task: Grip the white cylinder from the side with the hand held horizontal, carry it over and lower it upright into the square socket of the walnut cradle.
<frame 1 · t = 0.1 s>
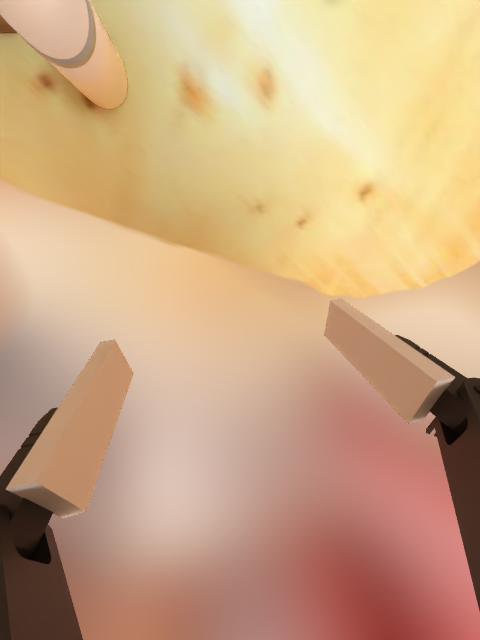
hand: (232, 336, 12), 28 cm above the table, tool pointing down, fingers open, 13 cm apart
white cylinder: (99, 73, 23), on the table
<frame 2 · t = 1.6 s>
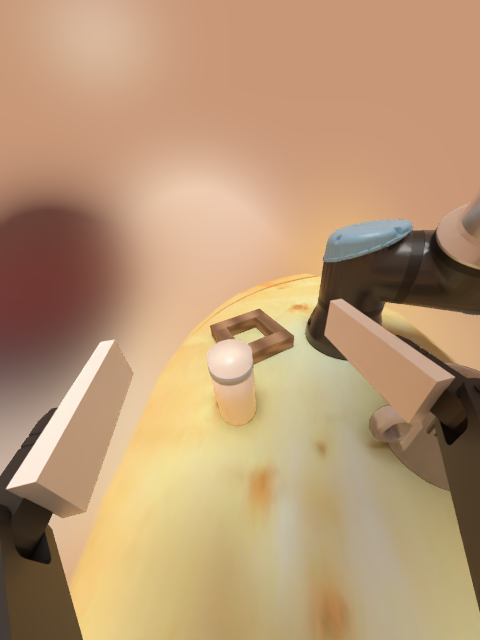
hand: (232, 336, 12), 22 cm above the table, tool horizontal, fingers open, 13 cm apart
cradle: (249, 340, 46), on the table
white cylinder: (238, 407, 32), on the table
coffee mug: (412, 442, 26), on the table
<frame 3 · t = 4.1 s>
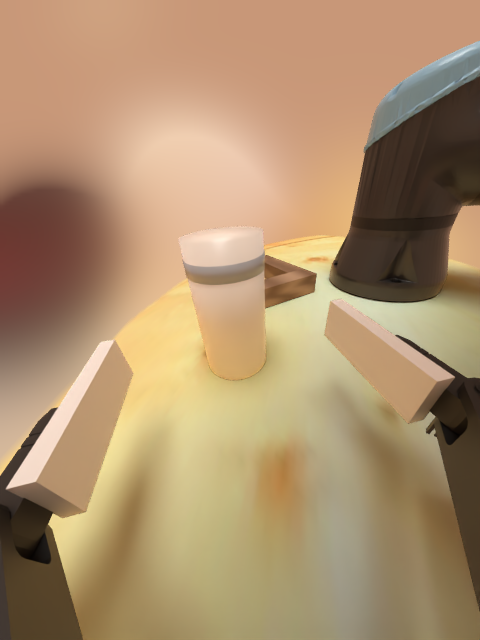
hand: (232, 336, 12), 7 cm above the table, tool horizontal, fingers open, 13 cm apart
cradle: (254, 288, 35), on the table
white cylinder: (237, 357, 21), on the table
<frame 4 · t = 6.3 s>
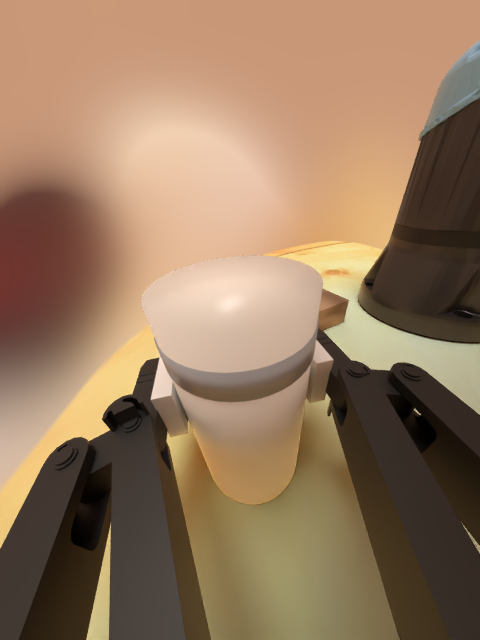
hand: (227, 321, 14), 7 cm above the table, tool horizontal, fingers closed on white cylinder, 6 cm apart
cradle: (265, 314, 28), on the table
white cylinder: (251, 446, 13), on the table, touching gripper
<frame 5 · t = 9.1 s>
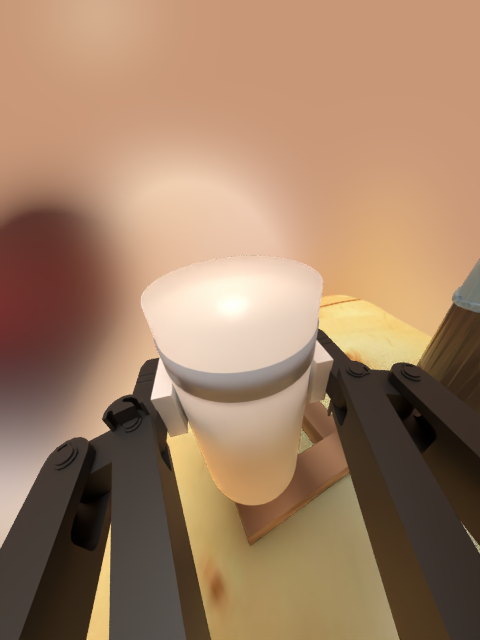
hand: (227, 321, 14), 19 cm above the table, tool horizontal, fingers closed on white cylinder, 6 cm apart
cradle: (273, 436, 25), on the table
white cylinder: (250, 446, 13), point 12 cm above the table, touching gripper
when the fingers open (9 cm above the table, at t = 12.0 s): white cylinder drops 2 cm, resting in cradle.
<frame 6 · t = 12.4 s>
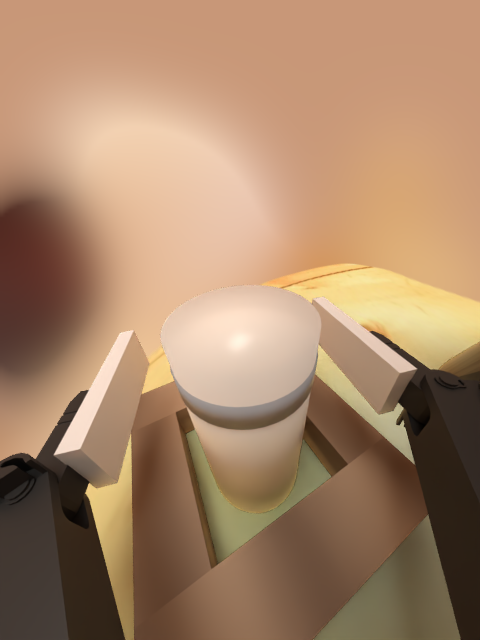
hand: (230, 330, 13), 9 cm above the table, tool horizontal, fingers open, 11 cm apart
cradle: (252, 456, 14), on the table
white cylinder: (254, 456, 14), resting in cradle
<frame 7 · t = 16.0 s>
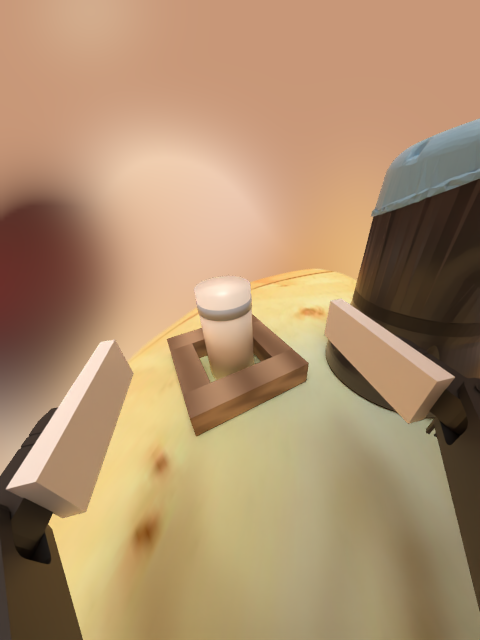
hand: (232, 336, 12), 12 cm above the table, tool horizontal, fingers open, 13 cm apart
cradle: (231, 366, 27), on the table
white cylinder: (232, 366, 27), resting in cradle
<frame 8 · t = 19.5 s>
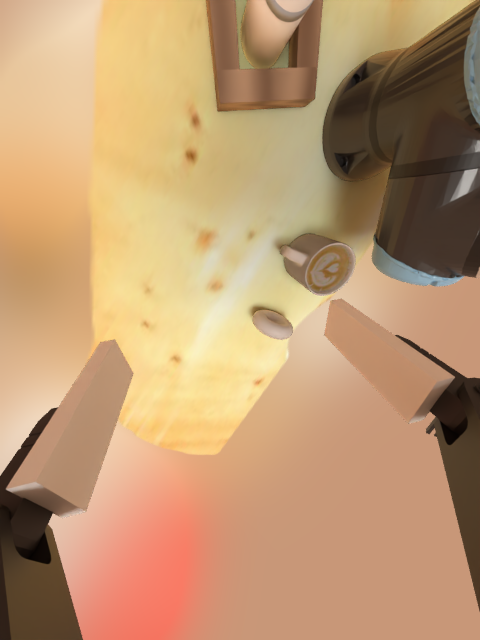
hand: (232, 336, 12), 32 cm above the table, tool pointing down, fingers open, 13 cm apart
cradle: (261, 35, 27), on the table
white cylinder: (262, 36, 27), resting in cradle
coffee mug: (299, 253, 44), on the table
donut: (265, 312, 51), on the table
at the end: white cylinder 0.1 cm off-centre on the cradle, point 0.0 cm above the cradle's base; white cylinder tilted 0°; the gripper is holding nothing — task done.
